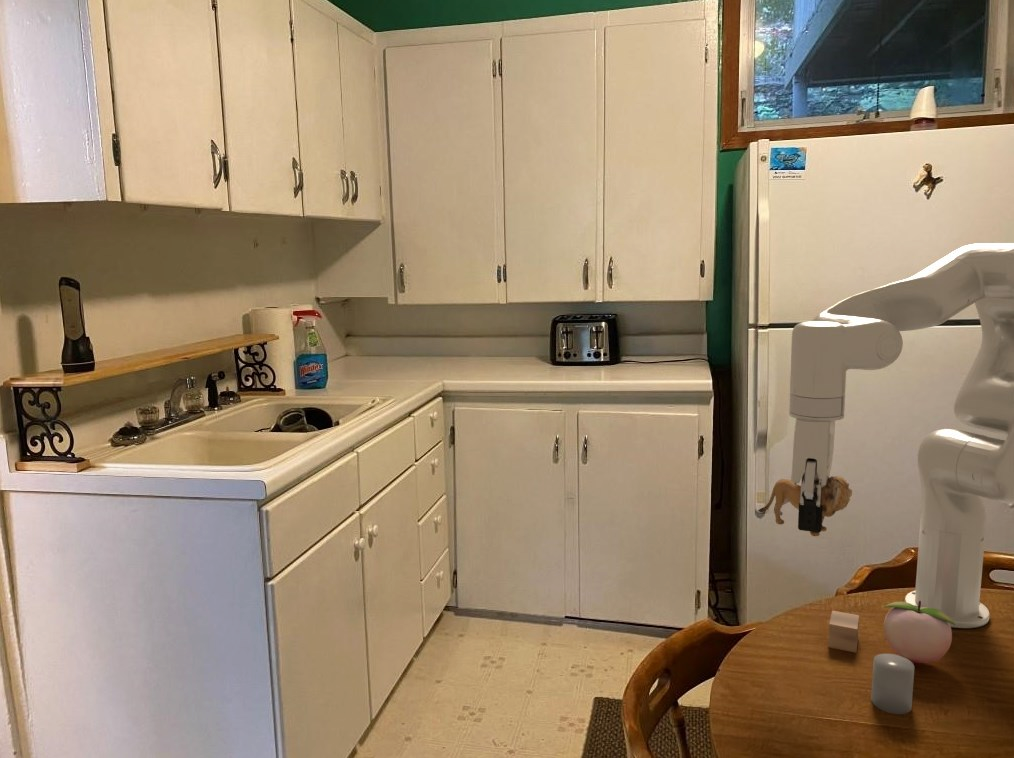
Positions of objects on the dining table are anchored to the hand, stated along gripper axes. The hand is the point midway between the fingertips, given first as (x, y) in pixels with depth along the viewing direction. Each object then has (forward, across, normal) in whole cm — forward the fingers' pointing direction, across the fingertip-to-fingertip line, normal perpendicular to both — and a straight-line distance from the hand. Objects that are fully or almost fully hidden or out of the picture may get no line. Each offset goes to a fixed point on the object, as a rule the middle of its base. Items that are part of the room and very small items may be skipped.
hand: (812, 521), depth 116 cm
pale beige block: (+22, -6, +5) cm, 23 cm away
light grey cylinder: (+22, +9, +12) cm, 26 cm away
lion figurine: (+2, -1, -1) cm, 2 cm away
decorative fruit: (+22, -3, +15) cm, 27 cm away
